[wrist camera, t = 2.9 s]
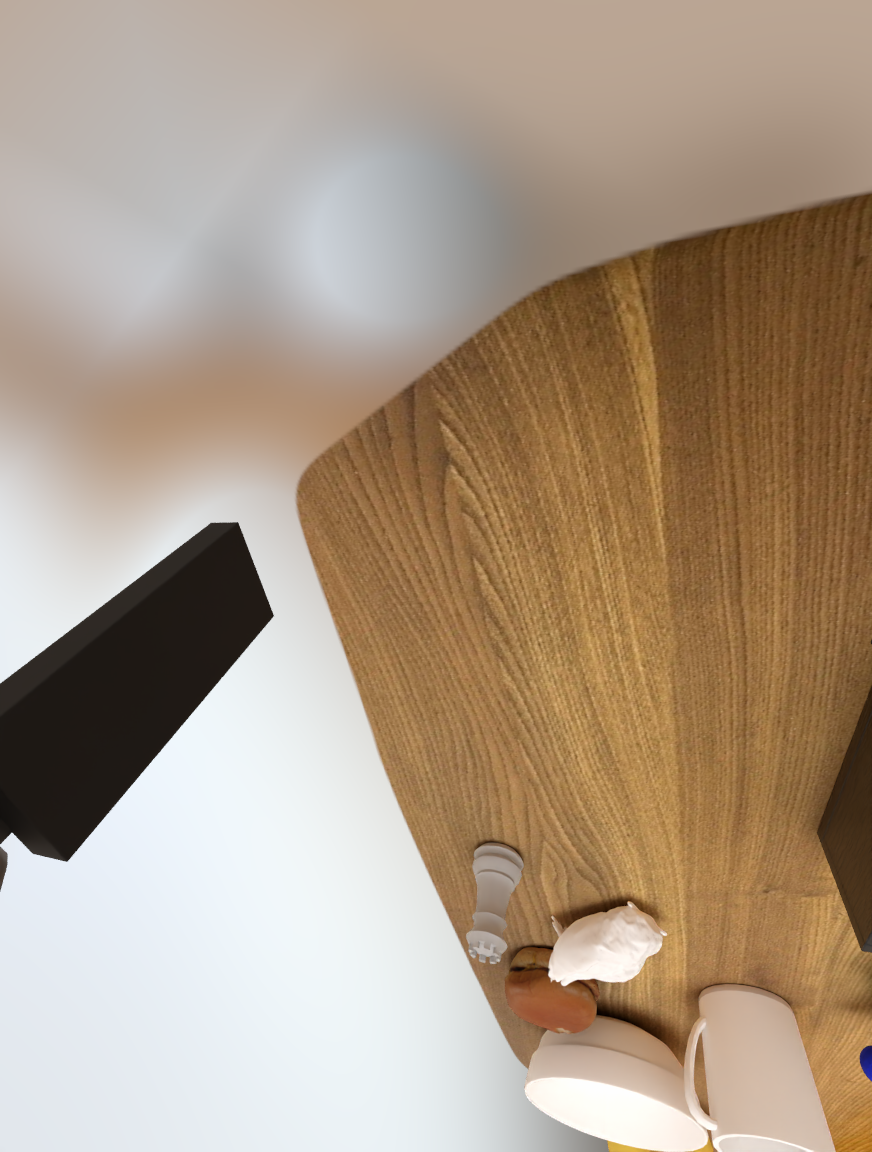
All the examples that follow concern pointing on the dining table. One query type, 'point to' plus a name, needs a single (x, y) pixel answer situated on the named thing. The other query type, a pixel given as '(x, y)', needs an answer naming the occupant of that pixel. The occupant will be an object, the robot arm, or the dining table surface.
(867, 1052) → the decorative model
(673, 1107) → the bowl
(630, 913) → the white cloth bag
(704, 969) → the dining table surface
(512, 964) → the burger
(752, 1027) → the mug
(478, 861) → the rook chess piece
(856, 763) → the black square open box
